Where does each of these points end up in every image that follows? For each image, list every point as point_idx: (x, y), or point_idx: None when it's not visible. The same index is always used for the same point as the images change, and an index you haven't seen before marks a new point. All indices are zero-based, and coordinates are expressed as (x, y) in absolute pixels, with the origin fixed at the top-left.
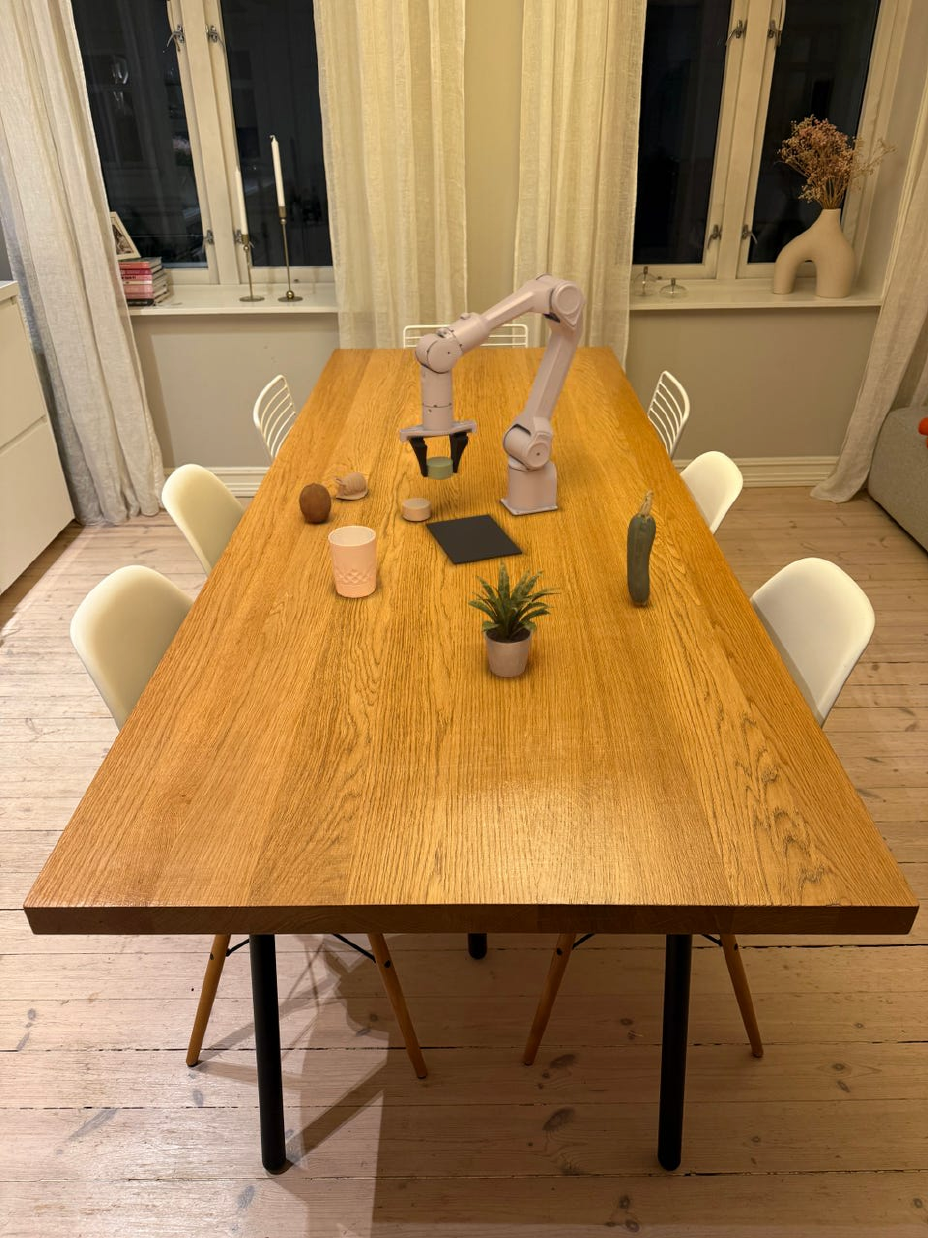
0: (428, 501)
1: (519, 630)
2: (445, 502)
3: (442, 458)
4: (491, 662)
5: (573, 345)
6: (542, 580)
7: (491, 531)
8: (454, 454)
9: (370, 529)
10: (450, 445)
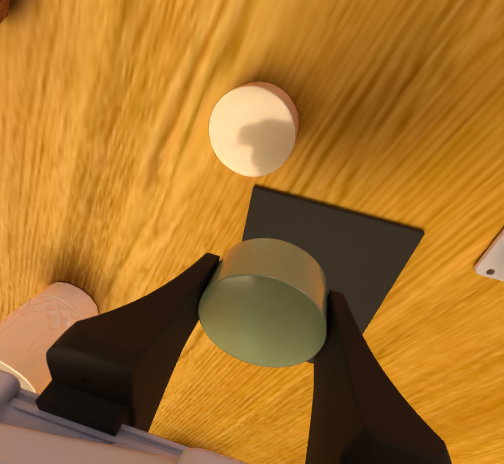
0: (290, 145)
1: None
2: (401, 68)
3: (293, 313)
4: None
5: None
6: (305, 415)
7: (353, 299)
8: (319, 387)
9: (27, 382)
10: (344, 373)
